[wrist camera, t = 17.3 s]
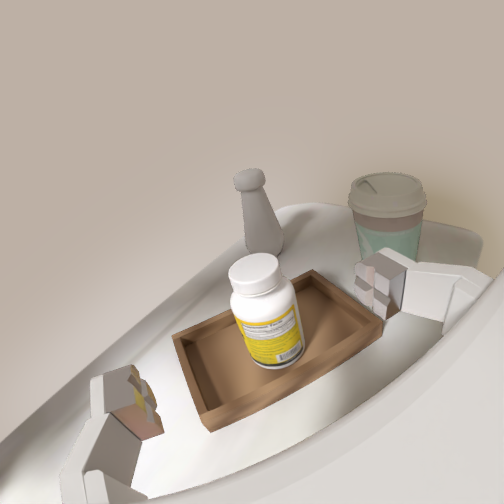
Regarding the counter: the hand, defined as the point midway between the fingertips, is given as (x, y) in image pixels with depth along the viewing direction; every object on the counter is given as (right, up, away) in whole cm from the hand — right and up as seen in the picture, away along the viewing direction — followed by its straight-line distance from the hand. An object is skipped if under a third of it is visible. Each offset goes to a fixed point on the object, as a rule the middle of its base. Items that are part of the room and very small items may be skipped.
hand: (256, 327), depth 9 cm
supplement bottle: (+2, -7, +18) cm, 19 cm away
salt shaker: (+2, +2, +35) cm, 35 cm away
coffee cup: (+16, -1, +23) cm, 28 cm away
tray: (+2, -7, +19) cm, 20 cm away
